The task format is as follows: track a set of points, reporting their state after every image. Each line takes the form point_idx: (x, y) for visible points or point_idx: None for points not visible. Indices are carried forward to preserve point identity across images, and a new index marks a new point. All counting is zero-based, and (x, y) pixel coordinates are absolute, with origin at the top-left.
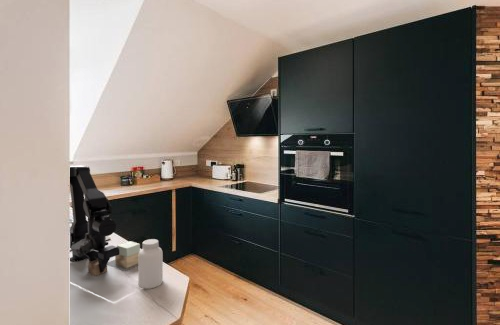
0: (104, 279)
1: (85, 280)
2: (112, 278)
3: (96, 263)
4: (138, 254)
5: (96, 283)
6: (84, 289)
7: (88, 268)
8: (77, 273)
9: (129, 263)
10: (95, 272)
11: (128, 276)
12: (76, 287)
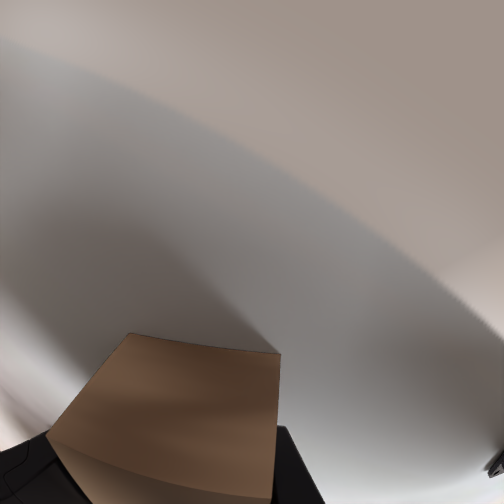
0: (39, 326)
1: (145, 231)
2: (25, 355)
3: (102, 482)
4: None
5: (17, 244)
6: (7, 121)
7: (271, 412)
8: (433, 307)
9: None
10: (101, 367)
11: (8, 394)
12: (82, 80)
